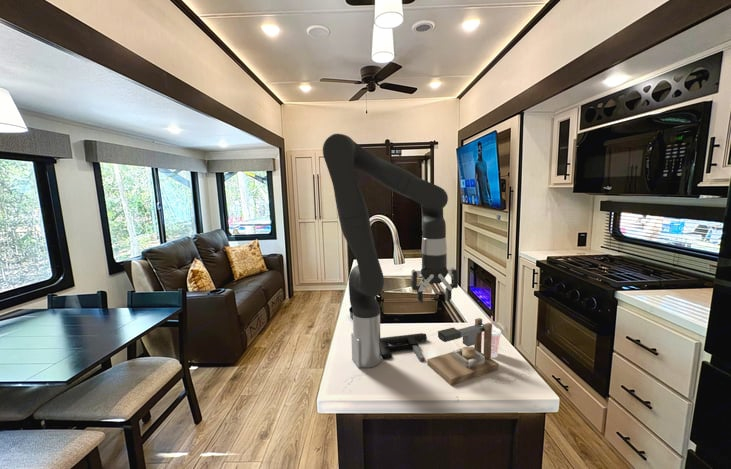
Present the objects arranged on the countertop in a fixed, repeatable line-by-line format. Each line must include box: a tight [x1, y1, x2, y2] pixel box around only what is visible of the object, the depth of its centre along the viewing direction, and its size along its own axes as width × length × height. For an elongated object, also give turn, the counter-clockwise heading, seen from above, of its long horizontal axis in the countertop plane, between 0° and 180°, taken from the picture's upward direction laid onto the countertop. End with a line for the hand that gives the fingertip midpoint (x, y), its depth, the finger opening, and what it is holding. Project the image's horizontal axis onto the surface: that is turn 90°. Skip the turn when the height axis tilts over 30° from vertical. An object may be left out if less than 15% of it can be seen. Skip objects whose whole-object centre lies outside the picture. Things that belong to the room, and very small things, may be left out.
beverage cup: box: [482, 315, 502, 359], centre depth 105 cm, size 6×6×14 cm
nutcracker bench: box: [426, 317, 500, 386], centre depth 97 cm, size 19×12×14 cm, turn 113°
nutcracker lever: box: [437, 322, 485, 347], centre depth 97 cm, size 18×4×6 cm, turn 113°
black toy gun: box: [380, 332, 428, 362], centre depth 109 cm, size 3×20×16 cm
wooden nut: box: [462, 346, 475, 360], centre depth 99 cm, size 4×4×4 cm
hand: (434, 301), depth 95 cm, fingers open, 8 cm apart
